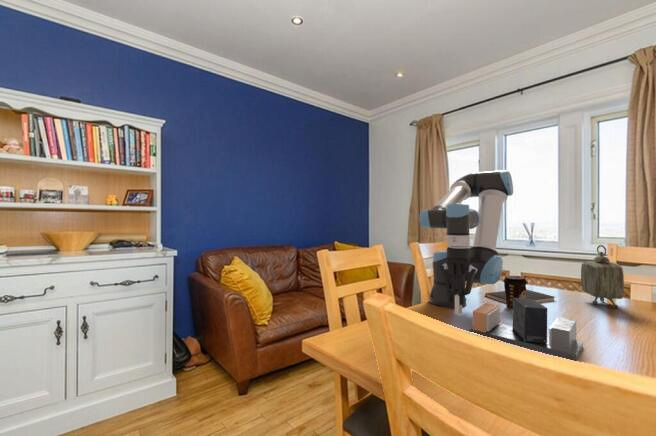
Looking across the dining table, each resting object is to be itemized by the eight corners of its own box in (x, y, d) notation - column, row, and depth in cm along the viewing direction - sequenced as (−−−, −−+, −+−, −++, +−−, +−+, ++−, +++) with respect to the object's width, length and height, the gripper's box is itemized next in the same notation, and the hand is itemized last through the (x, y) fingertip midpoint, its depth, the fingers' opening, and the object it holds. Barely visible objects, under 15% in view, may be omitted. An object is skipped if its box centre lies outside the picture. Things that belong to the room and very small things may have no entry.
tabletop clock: (623, 310, 124) (623, 247, 124) (596, 308, 127) (595, 246, 127) (604, 300, 138) (604, 243, 138) (580, 299, 141) (579, 243, 141)
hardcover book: (555, 301, 139) (555, 296, 139) (513, 307, 133) (513, 301, 133) (523, 293, 155) (523, 288, 155) (485, 297, 148) (485, 292, 148)
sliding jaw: (472, 329, 103) (472, 311, 103) (486, 320, 111) (485, 303, 111) (487, 333, 99) (487, 314, 99) (500, 323, 108) (500, 305, 108)
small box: (549, 344, 91) (549, 307, 91) (524, 342, 92) (523, 306, 92) (534, 330, 101) (533, 298, 101) (511, 329, 103) (511, 297, 102)
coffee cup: (526, 307, 131) (526, 275, 130) (529, 313, 123) (529, 279, 123) (502, 304, 134) (502, 274, 134) (504, 310, 127) (504, 278, 126)
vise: (468, 333, 104) (468, 310, 104) (482, 323, 112) (482, 302, 112) (576, 360, 84) (576, 332, 84) (582, 346, 92) (582, 321, 92)
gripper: (435, 246, 114) (436, 311, 114) (472, 249, 104) (473, 320, 105) (445, 245, 119) (445, 307, 119) (481, 247, 110) (481, 314, 110)
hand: (458, 313), depth 112 cm, fingers closed
